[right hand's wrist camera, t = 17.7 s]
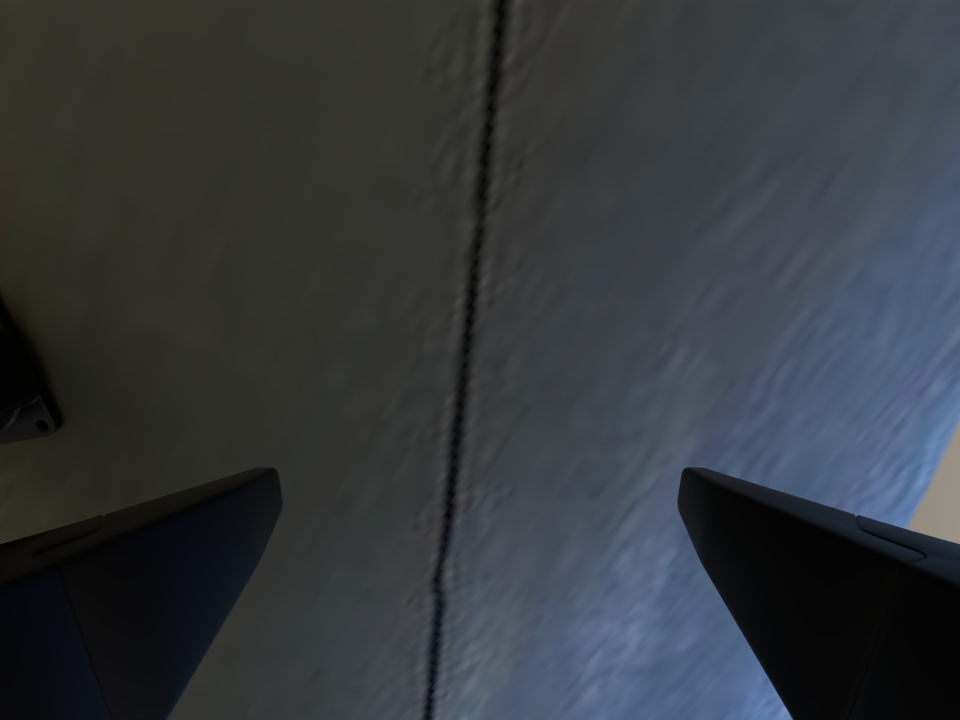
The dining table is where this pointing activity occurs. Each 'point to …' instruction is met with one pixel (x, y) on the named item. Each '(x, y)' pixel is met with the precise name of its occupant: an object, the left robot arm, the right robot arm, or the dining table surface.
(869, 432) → the dining table surface
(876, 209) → the dining table surface
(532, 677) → the dining table surface
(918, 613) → the right robot arm
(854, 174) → the dining table surface
